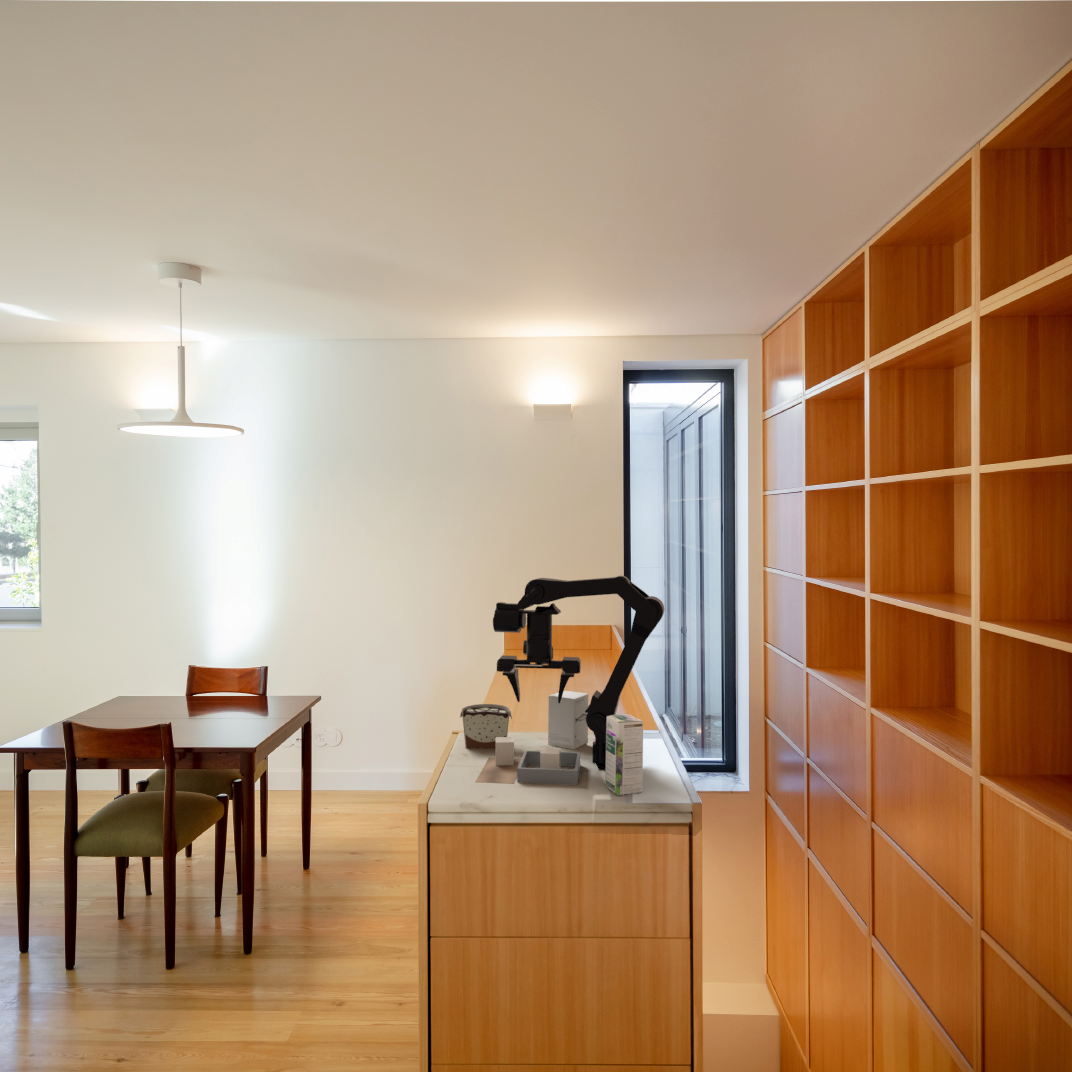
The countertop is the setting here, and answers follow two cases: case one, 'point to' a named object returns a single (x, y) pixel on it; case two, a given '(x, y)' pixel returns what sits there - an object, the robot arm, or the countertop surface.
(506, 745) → the cream white block
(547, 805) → the countertop surface
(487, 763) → the brown rectangular board
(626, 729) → the syrup box
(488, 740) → the food container
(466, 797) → the countertop surface
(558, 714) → the supplement box
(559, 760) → the stone
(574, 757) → the bin
